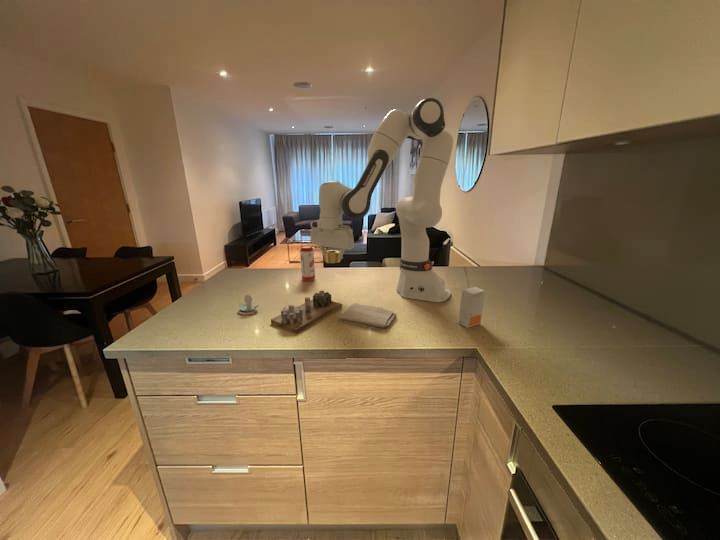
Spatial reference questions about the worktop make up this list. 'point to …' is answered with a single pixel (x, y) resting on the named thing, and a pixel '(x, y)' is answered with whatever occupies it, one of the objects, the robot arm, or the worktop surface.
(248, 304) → the pacifier
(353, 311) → the washcloth
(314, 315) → the gear board
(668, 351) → the worktop surface
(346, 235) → the robot arm
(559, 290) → the worktop surface
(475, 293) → the skincare box
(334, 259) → the brass gear
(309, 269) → the beer can
